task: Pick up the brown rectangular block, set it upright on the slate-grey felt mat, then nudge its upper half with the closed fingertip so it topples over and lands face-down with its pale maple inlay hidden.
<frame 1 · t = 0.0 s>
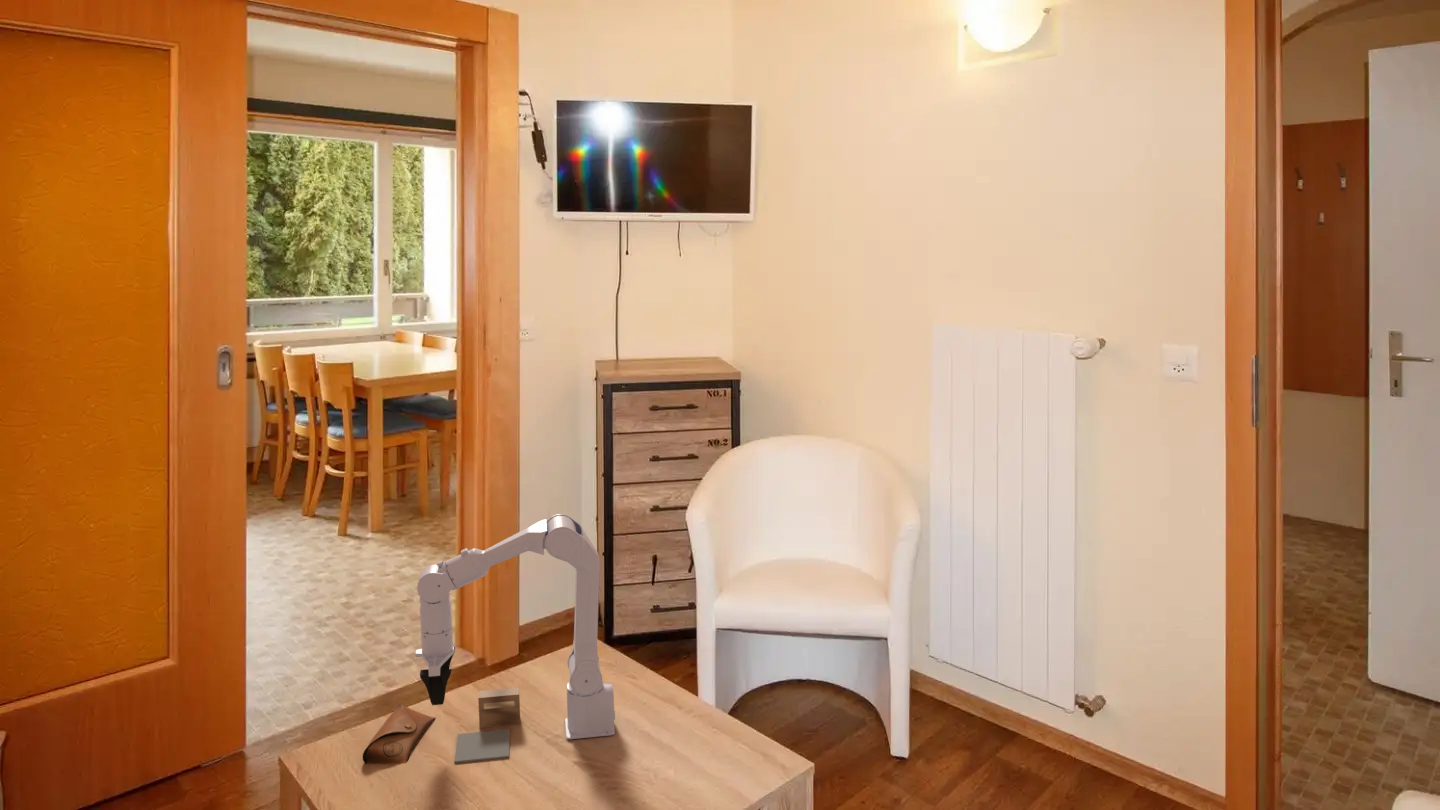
hand: (439, 694, 177), 10 cm above the table, fingers open, 7 cm apart
felt mat: (483, 746, 177), on the table
brown rectangular block: (500, 722, 187), on the table
sunglasses case: (401, 742, 180), on the table
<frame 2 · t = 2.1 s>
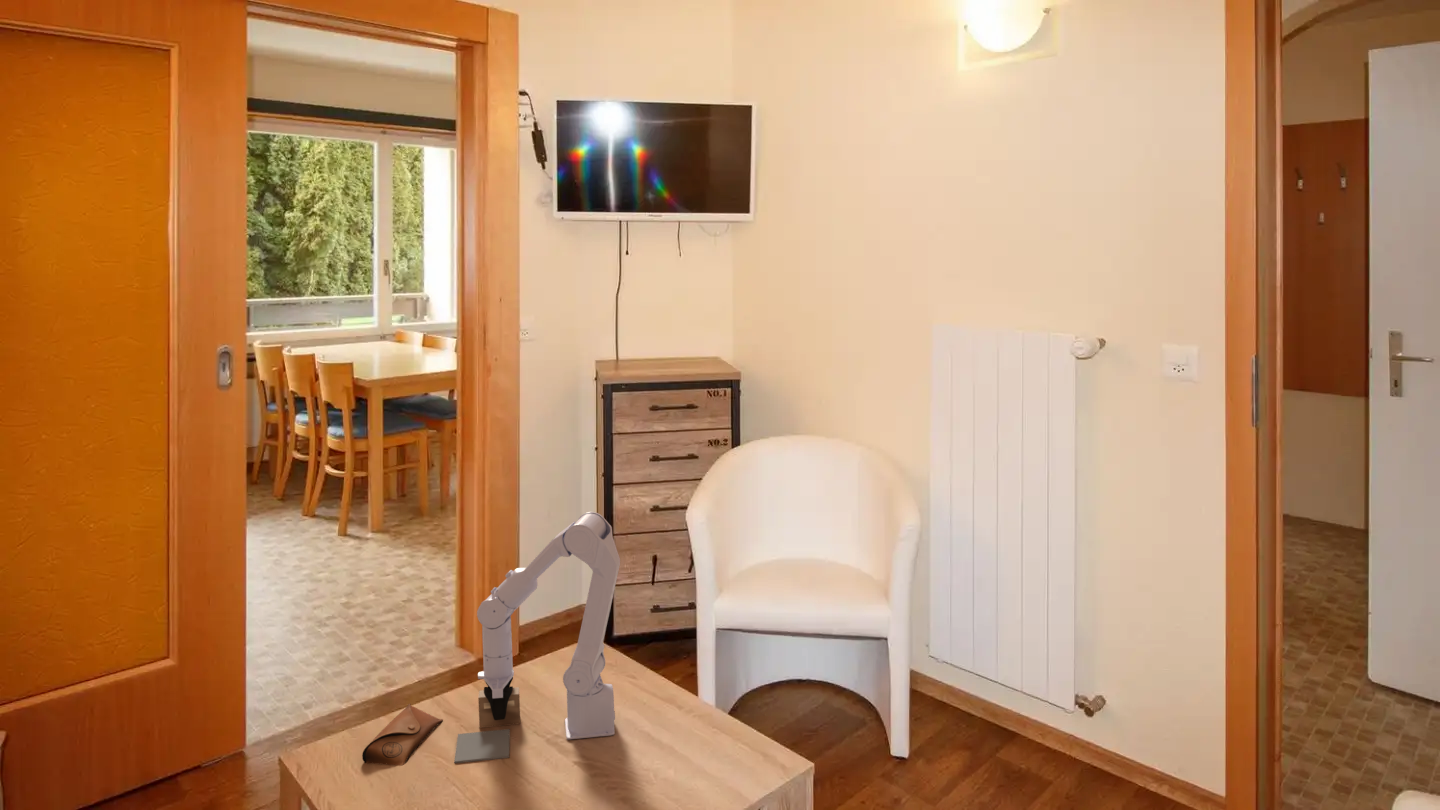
hand: (499, 714, 186), 2 cm above the table, fingers closed on brown rectangular block, 3 cm apart
brown rectangular block: (500, 721, 187), on the table, touching gripper
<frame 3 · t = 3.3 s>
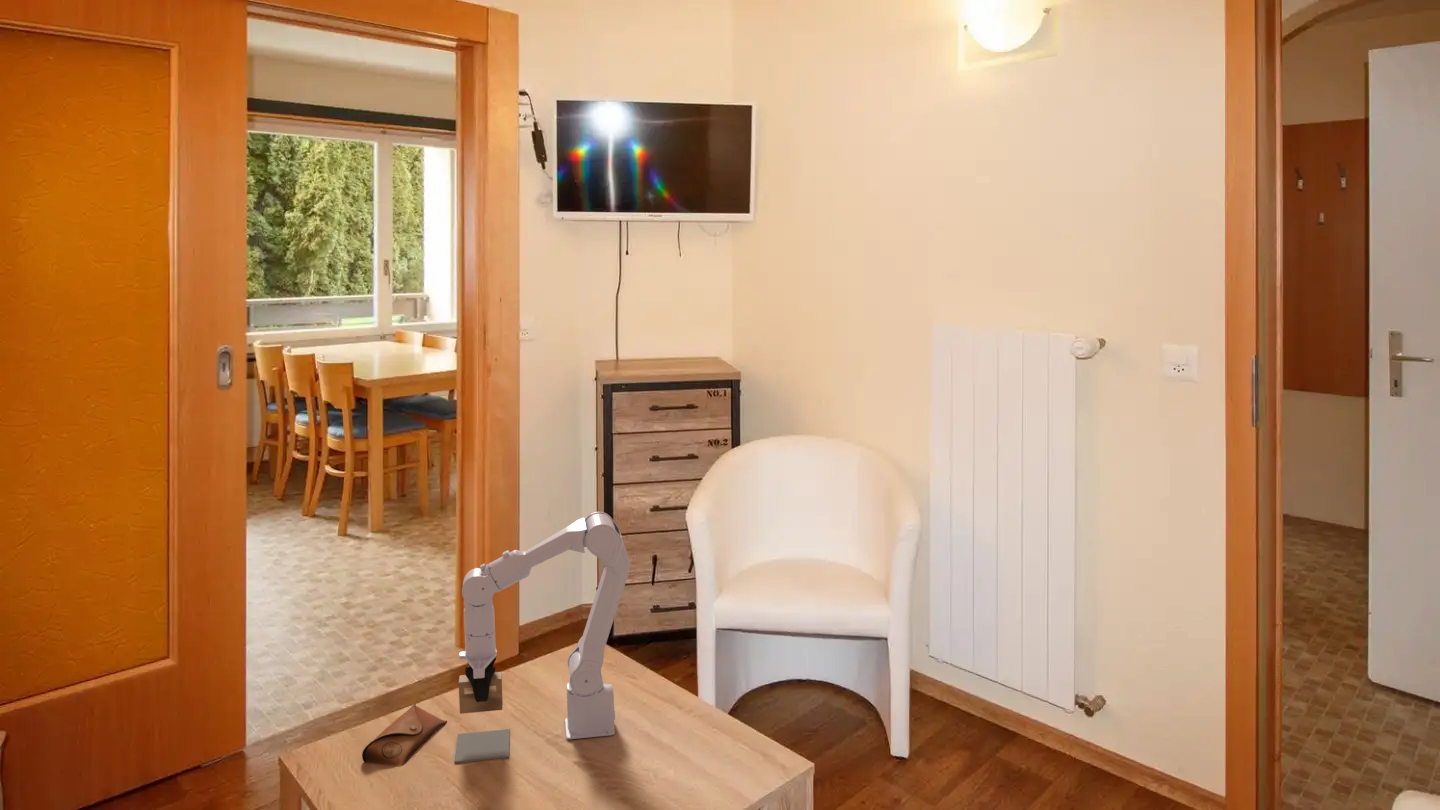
hand: (482, 696, 179), 9 cm above the table, fingers closed on brown rectangular block, 3 cm apart
brown rectangular block: (481, 708, 179), point 6 cm above the table, touching gripper
when the fingers open (3 cm above the table, at t = 4.7 s): brown rectangular block stays where it is, resting on felt mat.
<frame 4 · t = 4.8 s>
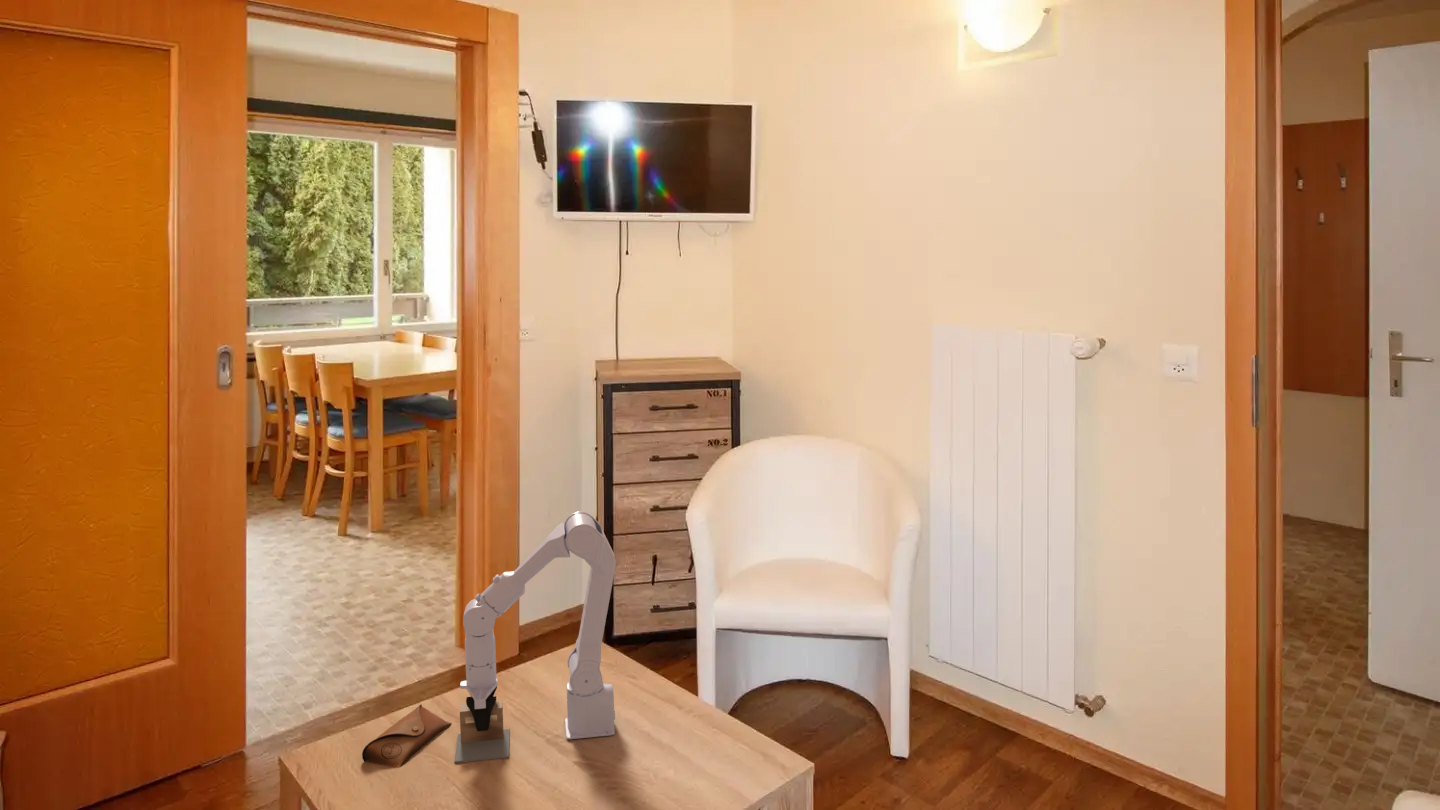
hand: (483, 725, 180), 3 cm above the table, fingers open, 3 cm apart
brown rectangular block: (482, 736, 180), resting on felt mat
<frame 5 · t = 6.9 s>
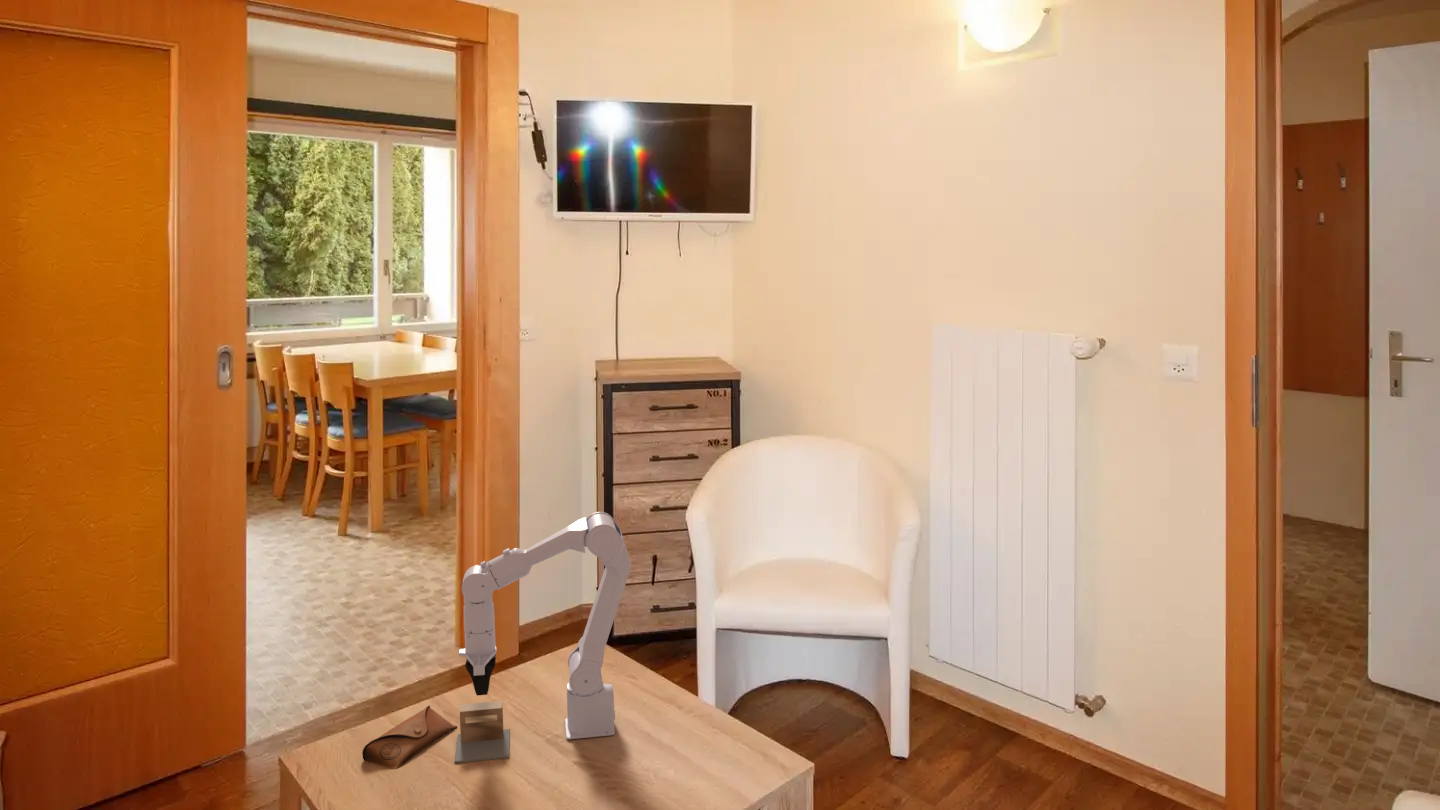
hand: (482, 693, 179), 9 cm above the table, fingers closed
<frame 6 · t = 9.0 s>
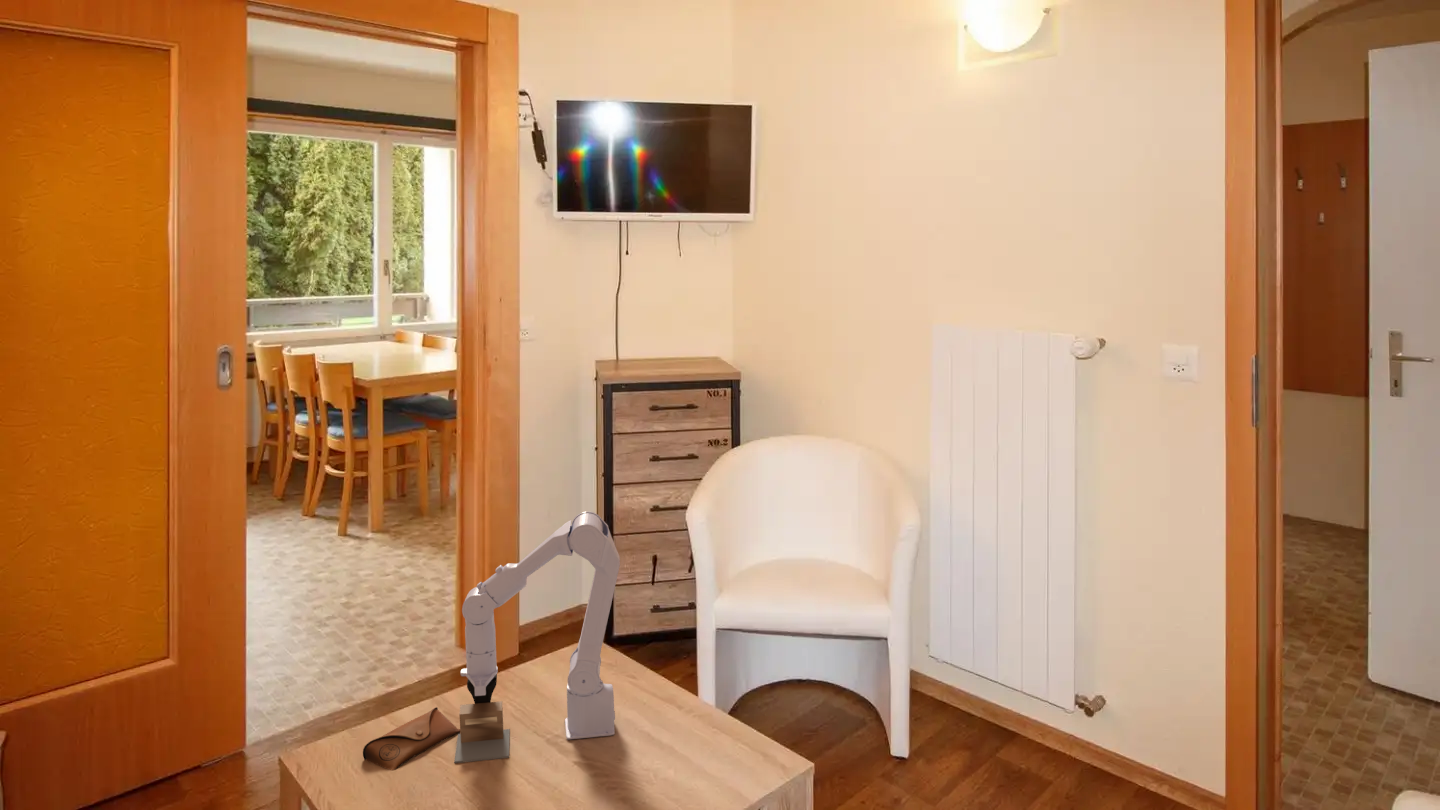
hand: (483, 712, 182), 4 cm above the table, fingers closed
brown rectangular block: (482, 735, 180), point 1 cm above the table, tilted 8°, touching felt mat
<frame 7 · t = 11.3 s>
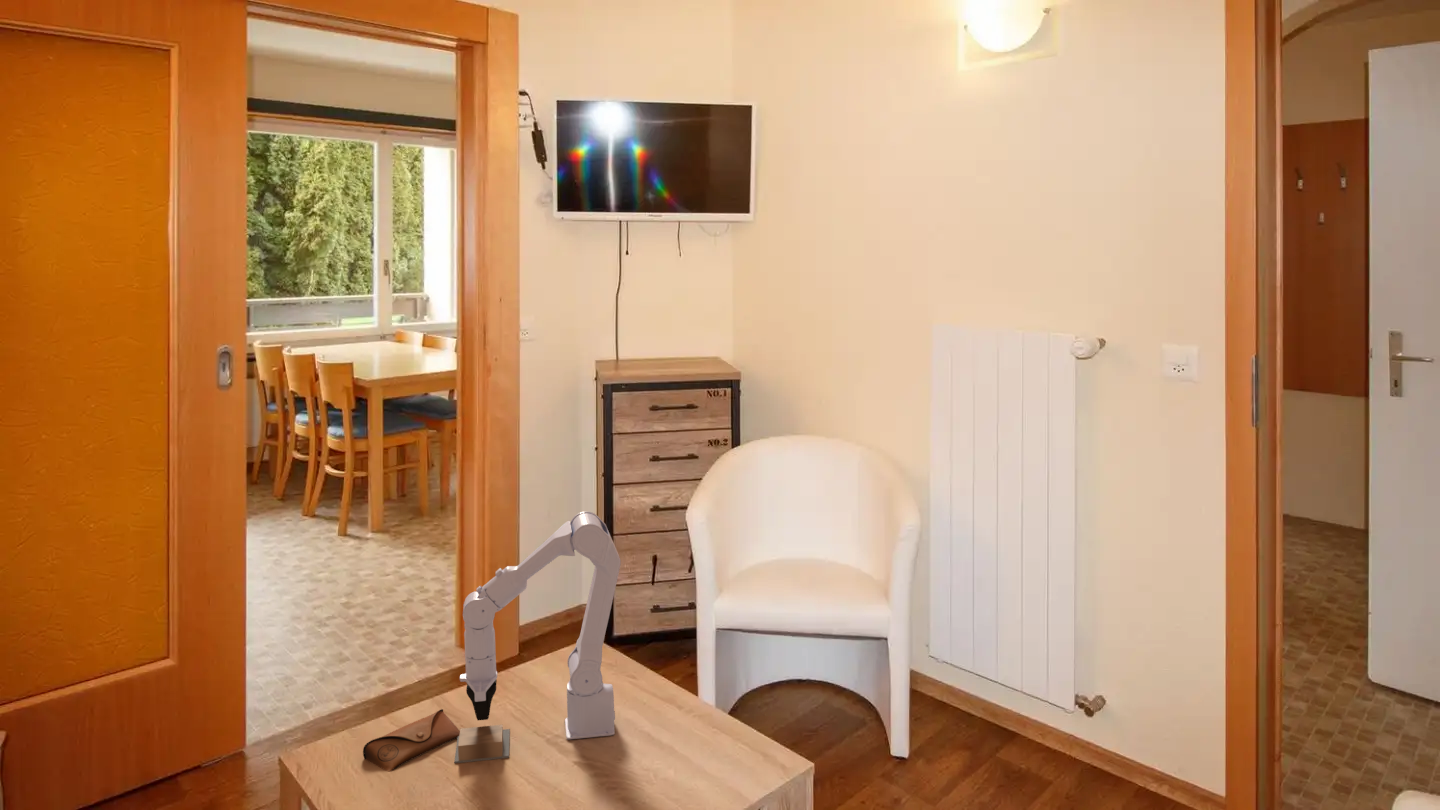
hand: (482, 718, 179), 4 cm above the table, fingers closed
brown rectangular block: (481, 733, 178), point 2 cm above the table, tilted 90°, touching felt mat
sunglasses case: (416, 748, 178), on the table, touching felt mat
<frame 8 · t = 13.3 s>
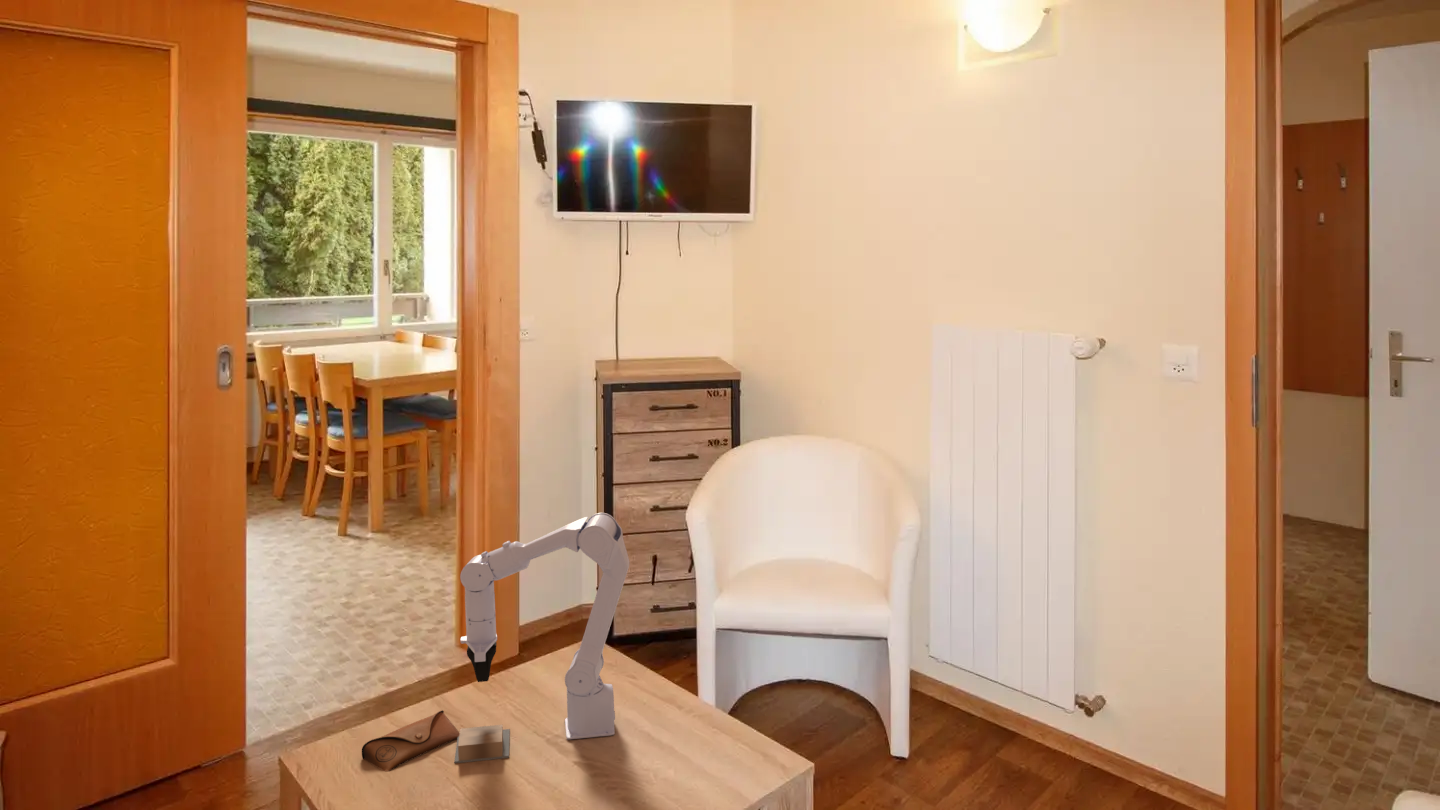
hand: (483, 680, 183), 10 cm above the table, fingers closed
sunglasses case: (415, 749, 178), on the table
everything else where it was.
at the end: brown rectangular block tilted 90°; brown rectangular block inside the target area (1.5 cm from its centre), point 1.9 cm above the table; the gripper is holding nothing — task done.
